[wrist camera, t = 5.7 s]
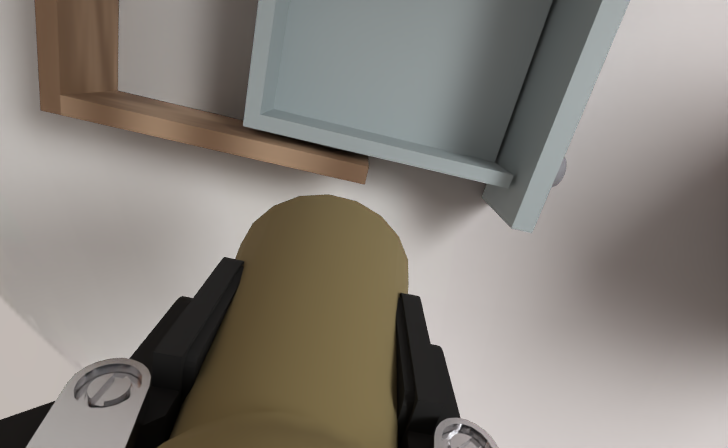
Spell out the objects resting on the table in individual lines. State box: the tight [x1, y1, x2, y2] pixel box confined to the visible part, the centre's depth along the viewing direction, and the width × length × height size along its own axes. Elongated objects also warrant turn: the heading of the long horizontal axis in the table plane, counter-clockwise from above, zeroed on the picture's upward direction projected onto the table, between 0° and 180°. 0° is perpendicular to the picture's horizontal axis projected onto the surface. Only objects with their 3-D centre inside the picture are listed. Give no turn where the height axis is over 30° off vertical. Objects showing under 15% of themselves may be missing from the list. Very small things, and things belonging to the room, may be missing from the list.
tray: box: [243, 0, 630, 233], centre depth 21 cm, size 18×18×6 cm
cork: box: [157, 194, 408, 448], centre depth 9 cm, size 6×6×11 cm
